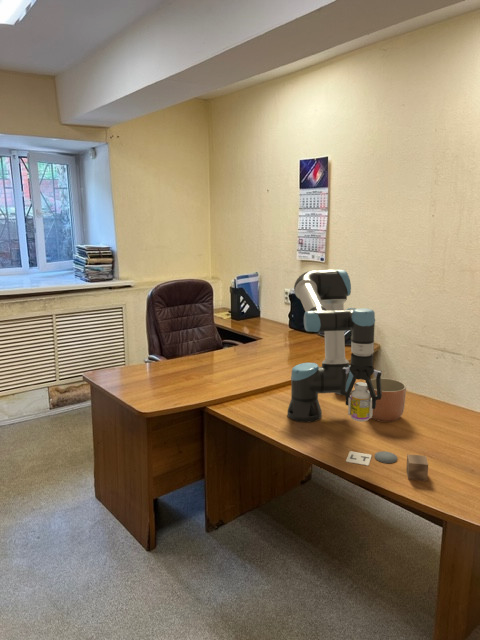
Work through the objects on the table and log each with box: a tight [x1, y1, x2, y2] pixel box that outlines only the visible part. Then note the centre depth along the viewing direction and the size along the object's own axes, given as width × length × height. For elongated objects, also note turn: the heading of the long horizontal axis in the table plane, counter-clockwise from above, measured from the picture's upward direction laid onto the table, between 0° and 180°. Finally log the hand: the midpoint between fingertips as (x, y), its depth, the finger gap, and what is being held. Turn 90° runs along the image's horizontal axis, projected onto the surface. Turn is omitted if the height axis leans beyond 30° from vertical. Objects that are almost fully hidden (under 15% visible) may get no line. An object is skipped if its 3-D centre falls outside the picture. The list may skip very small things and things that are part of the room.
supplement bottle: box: [350, 381, 371, 423], centre depth 165 cm, size 7×7×13 cm
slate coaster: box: [374, 450, 398, 464], centre depth 170 cm, size 8×8×1 cm
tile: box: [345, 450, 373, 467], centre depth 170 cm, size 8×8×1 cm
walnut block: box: [405, 454, 429, 482], centre depth 158 cm, size 6×6×6 cm
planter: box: [364, 377, 407, 423], centre depth 203 cm, size 17×17×15 cm
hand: (360, 415), depth 167 cm, fingers closed on supplement bottle, 7 cm apart
